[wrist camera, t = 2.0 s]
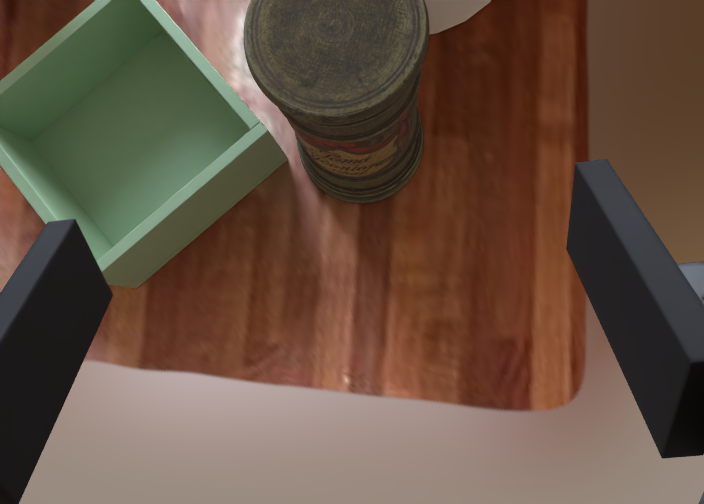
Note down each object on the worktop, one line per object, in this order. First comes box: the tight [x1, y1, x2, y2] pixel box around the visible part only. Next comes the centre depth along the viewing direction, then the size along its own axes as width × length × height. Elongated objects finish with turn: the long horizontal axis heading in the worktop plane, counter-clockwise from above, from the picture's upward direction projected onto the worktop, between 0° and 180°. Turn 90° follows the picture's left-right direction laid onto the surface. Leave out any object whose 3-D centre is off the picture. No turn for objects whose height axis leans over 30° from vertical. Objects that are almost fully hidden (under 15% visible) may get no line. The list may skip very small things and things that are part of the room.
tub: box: [0, 0, 288, 288], centre depth 43 cm, size 15×15×7 cm
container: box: [244, 0, 430, 203], centre depth 36 cm, size 9×9×18 cm
